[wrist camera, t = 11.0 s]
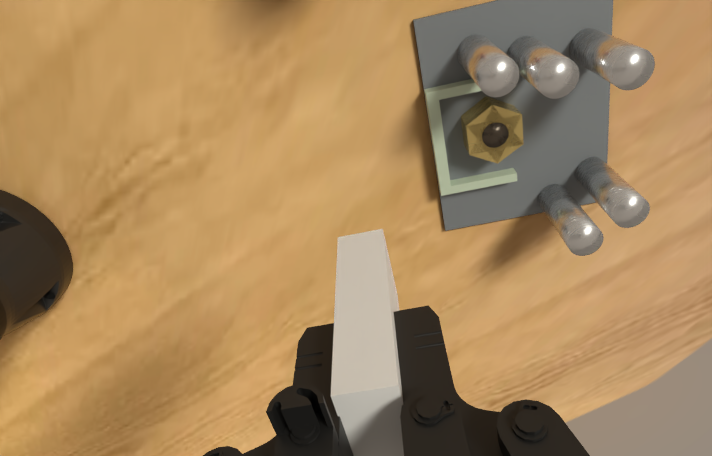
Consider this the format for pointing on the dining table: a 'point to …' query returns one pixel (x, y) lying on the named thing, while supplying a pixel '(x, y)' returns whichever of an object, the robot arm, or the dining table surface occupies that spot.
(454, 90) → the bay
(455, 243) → the dining table surface
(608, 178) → the spacer posts
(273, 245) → the dining table surface
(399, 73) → the dining table surface
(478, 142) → the nut
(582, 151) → the mat
